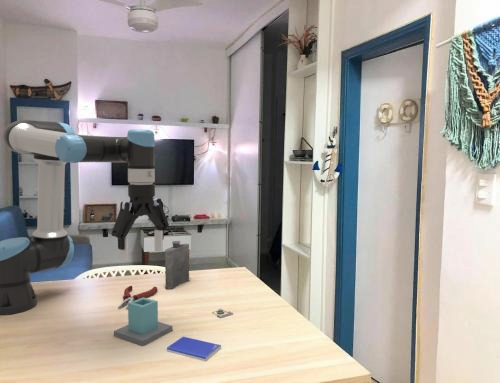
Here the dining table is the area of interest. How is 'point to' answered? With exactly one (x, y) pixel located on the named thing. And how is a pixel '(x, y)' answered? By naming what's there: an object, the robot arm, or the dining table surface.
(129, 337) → the pin base
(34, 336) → the dining table surface
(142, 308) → the block with square hole
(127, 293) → the pliers
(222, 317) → the grey rectangular frame
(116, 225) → the robot arm
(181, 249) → the flask
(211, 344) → the hard drive
